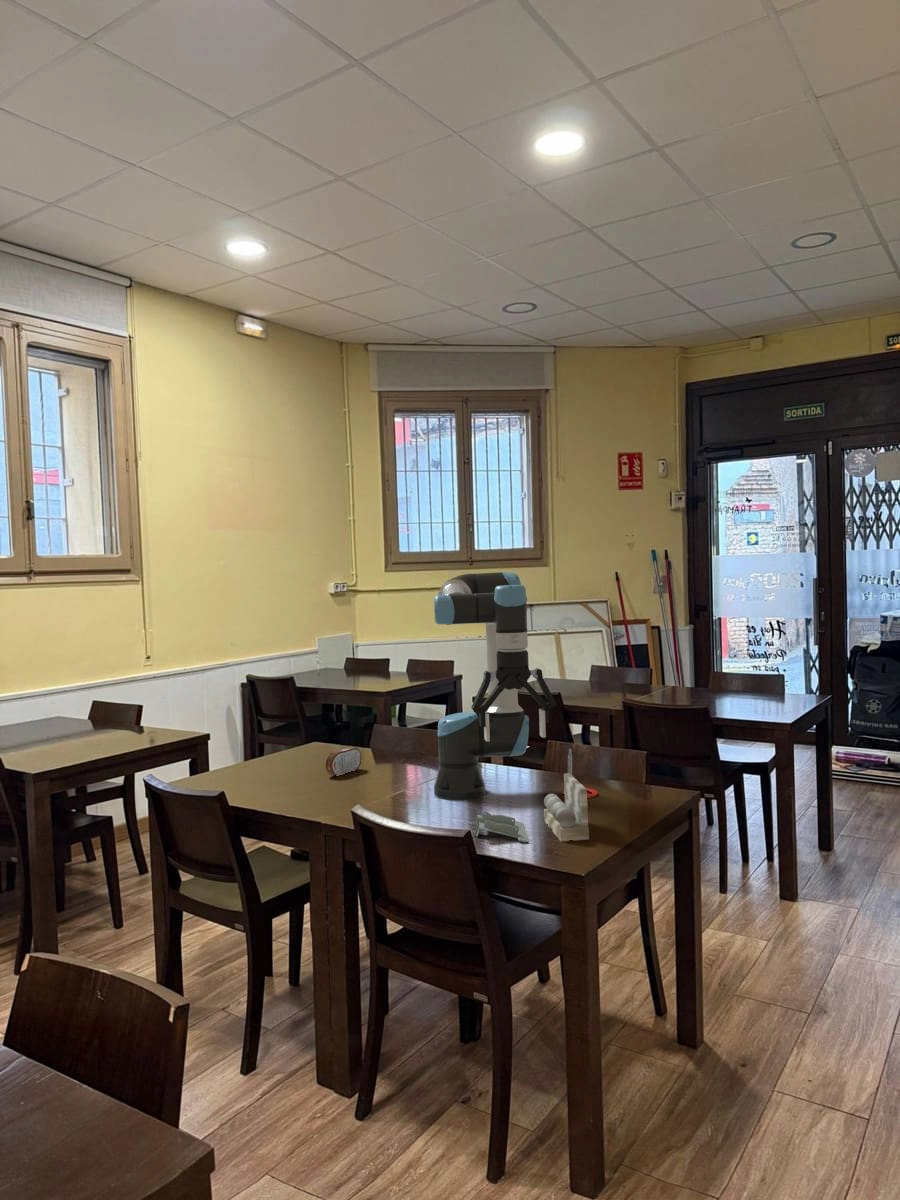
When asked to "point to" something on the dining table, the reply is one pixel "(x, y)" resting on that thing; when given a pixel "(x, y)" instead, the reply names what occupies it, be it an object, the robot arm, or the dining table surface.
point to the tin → (343, 760)
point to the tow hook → (572, 775)
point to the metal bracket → (501, 826)
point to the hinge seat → (568, 811)
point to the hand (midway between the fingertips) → (515, 738)
